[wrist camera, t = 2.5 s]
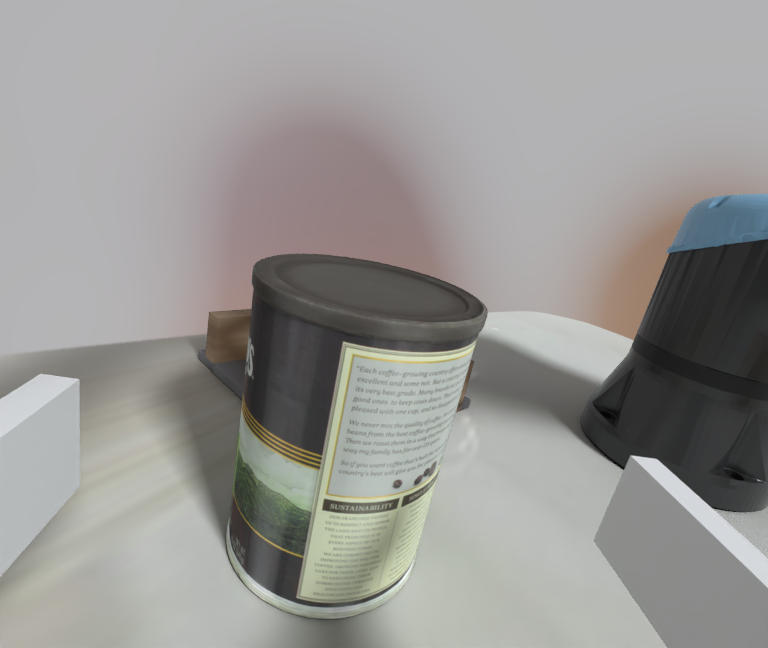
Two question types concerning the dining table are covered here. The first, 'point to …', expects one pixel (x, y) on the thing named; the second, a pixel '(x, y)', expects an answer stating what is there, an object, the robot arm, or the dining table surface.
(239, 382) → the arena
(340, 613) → the coffee can
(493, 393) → the dining table surface
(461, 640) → the dining table surface
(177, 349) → the dining table surface
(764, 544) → the dining table surface
